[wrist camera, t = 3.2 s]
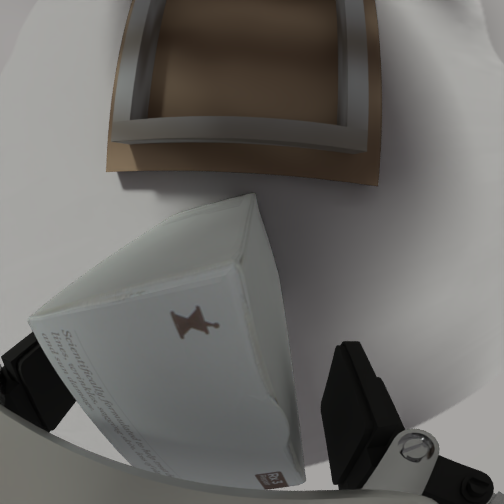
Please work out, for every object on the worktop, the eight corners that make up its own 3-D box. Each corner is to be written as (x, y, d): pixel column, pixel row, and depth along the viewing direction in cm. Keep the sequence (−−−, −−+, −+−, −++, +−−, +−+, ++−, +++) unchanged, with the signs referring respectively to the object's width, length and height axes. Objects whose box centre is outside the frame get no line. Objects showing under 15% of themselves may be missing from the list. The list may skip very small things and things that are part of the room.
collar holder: (148, -22, 14) (131, -45, 10) (365, -19, 13) (378, -44, 9) (116, 171, 19) (86, 172, 15) (370, 185, 18) (393, 188, 14)
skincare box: (176, 213, 19) (8, 301, 5) (260, 189, 19) (234, 240, 4) (210, 320, 21) (146, 494, 7) (289, 304, 21) (311, 495, 6)
